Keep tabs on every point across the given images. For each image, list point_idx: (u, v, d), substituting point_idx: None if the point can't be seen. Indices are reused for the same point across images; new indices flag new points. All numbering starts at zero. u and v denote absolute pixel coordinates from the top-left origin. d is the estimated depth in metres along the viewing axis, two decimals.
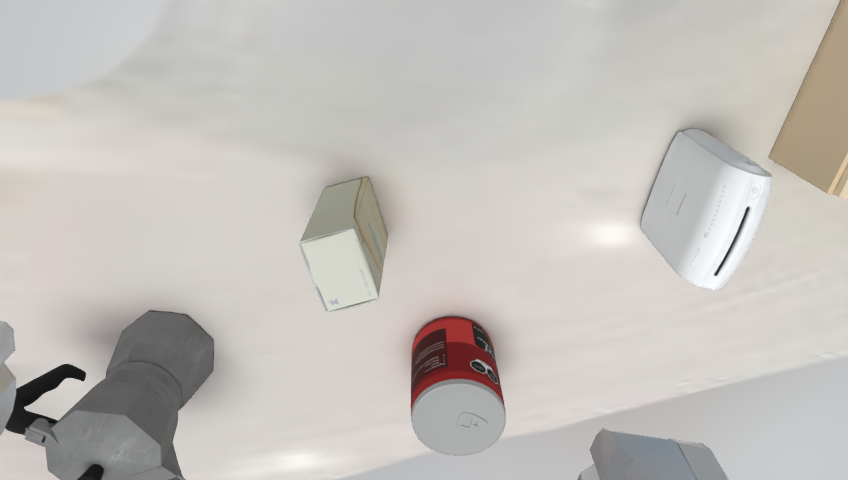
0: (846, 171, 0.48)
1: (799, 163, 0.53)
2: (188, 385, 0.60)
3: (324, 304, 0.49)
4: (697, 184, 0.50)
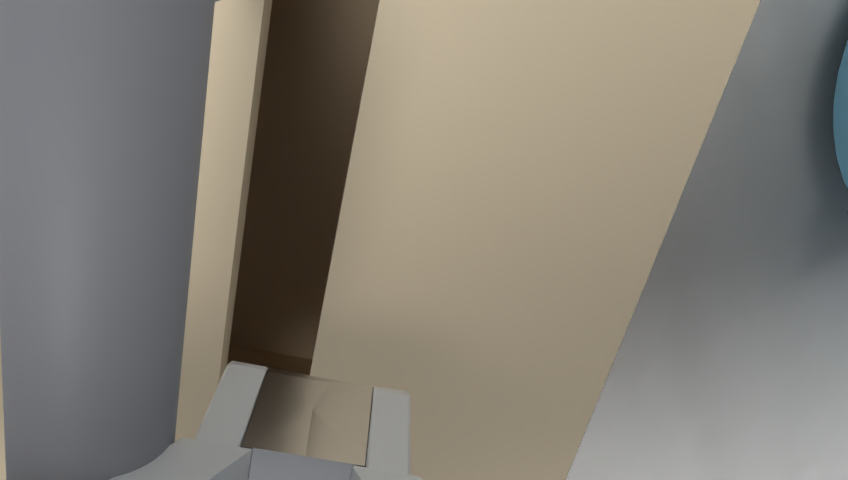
0: None
1: None
2: None
3: None
4: None
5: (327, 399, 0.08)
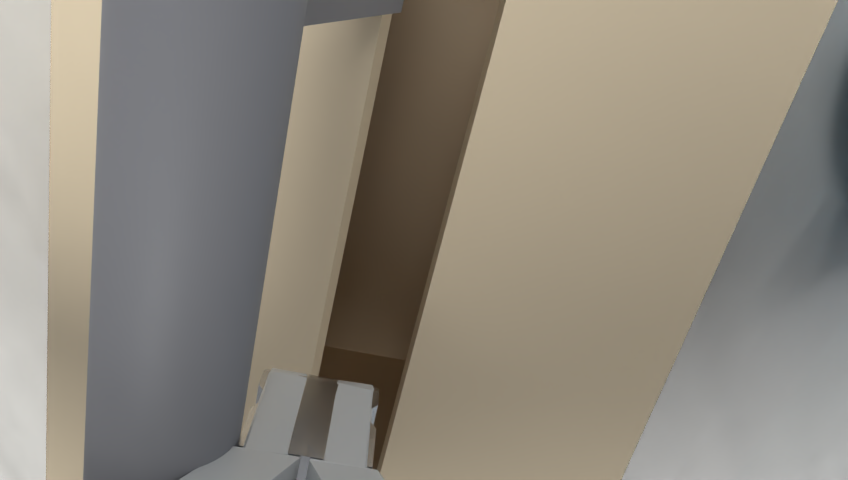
0: None
1: None
2: None
3: None
4: None
5: (369, 407, 0.08)
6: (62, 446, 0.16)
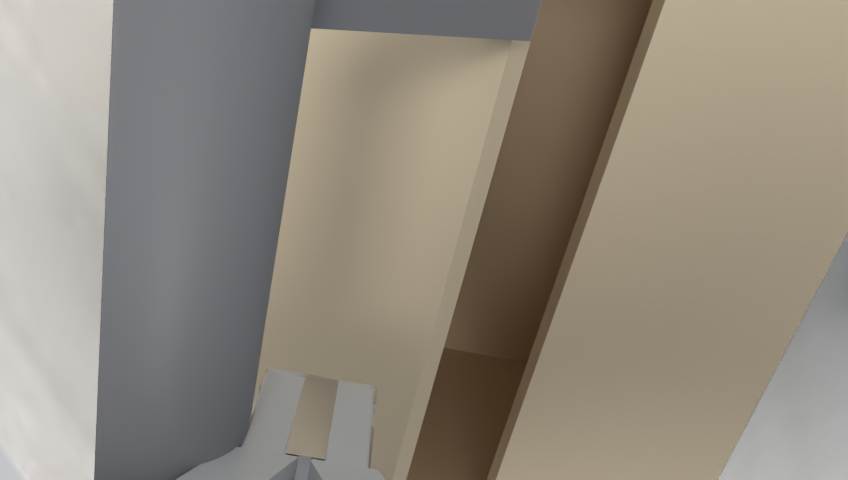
0: None
1: None
2: None
3: None
4: None
5: (367, 406, 0.08)
6: None
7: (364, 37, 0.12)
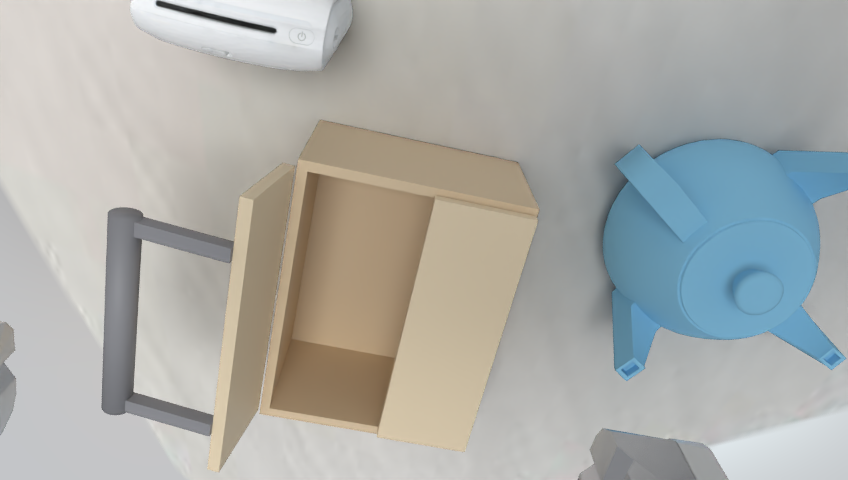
0: (280, 173, 0.35)
1: (324, 139, 0.41)
2: None
3: None
4: None
5: None
6: None
7: None
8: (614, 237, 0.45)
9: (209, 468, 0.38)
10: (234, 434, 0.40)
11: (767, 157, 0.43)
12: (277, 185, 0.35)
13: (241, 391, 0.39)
